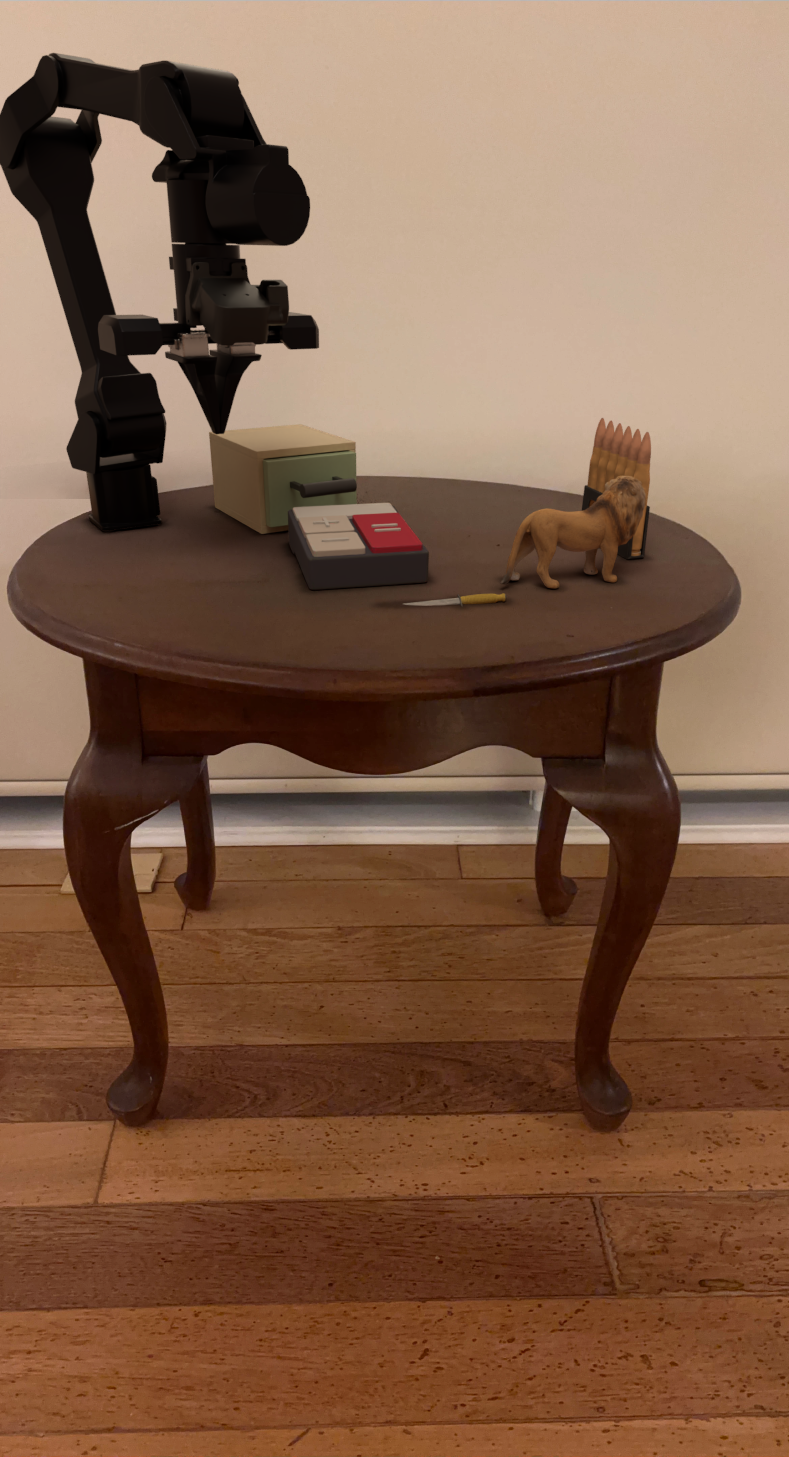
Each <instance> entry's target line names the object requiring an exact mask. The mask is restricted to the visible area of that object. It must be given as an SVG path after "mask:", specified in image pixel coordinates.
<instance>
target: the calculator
mask: <svg viewBox="0 0 789 1457" xmlns="http://www.w3.org/2000/svg"><path fill="white" fill-rule="evenodd" d="M410 526H411V525H409V524H408V523H407V521H406V520H405V518H404V517H403V516H402V515H401V513H400V512H399V511H398V509H396V507H395V506H394V505H393V504H391V503H390V502H375V503H374V502H373V503H357V504H350V505H329V506H309V507H294V508H293V510H289V511H288V530H287V531H288V544H289V547H290V550H291V552H292V554H293V556H295V557H296V560H297V563H298V564H299V568H300V570H301V573H302V574H303V577H304V580H305V583H306V584H307V587H308V589H309V590H312V591H320V590H337V589H351V588H352V589H353V588H364V587H365V588H367V587H380V586H395V585H411V584H424V583H428V581H429V565H430V564H429V563H430V562H429V561H430V560H429V559H430V551H429V550H428V548H427V547H426V545H424V543H423V542H422V541H421V539H420V538H419V537H418V535H417V534H416V533H415V532H414V531H413V529H412V528H411V527H410Z"/></svg>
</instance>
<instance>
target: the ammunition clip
mask: <svg viewBox="0 0 789 1457" xmlns="http://www.w3.org/2000/svg"><path fill="white" fill-rule="evenodd" d="M614 426H615V425H614V422H613V420H609V422H608V423H607V425H606V422H605V418H604V417H601V418H600V420H599V422H598V424H597V426H596V430H595V434H594V439H593V446H592V452H591V457H590V460H589V467H588V475H587V484H586V485H584V486H583V494H582V502H581V503H582V504H581V511H584V510H585V509H587V508H589V507H591V506H592V505H593V503H594V502H596V501H597V498H598V497H599V496H601V495H602V494H603V493H604V492H605V484H606V483H607V482H610V481H611V480H612V479H616V478H617V477H618V476H632V477H634V478H636V479H638V480H639V481H640V482H641V483H642V486H643V488H644V490H645V495H646V505H645V507H644V510H643V516H642V518H641V520H640V522H639V525H638V527H637V530H636V533H635V535H634V536H633V537H632V538H631V539H630V540H629V541H628V542H627V543H626V544H623V545H620V546H618V552H617V556H620V557H622V558H623V559H626V560H635V559H644V558H645V552H646V544H647V537H648V536H647V535H648V528H649V527H648V526H649V518H650V510H651V506H649V505H648V499H649V491H650V484H651V473H650V472H651V457H652V441H651V436H650V433H649V431H646V432H645V433H644V435H643V437H642V434H641V431H640V428H637V429H635V431H634V433H632V429H631V428H632V427H631V426H630V425H628V426H626V428H625V429H623V426H622V423H618V424H617V426H616V428H615V427H614Z"/></svg>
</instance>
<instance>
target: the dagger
mask: <svg viewBox="0 0 789 1457" xmlns="http://www.w3.org/2000/svg"><path fill="white" fill-rule="evenodd" d="M456 596H457V597H453V598H452V597H451V598H443V599H433V600H423V601H415V602H406V603H405V602H404V603H403V605H406V606H423V607H424V606H427V607H429V606H459V605H460V607H461V608H463V607H464V606H463V605H481V604H482V605H483V604H495V603H497V602H506V601H507V597H508V596H507V594H506V593H503V592H502V593H501V594H498V593H479V594H478V593H477V594H470V595H463V596H461V595H460V594H459V593H458V594H456Z"/></svg>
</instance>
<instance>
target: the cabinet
mask: <svg viewBox="0 0 789 1457" xmlns="http://www.w3.org/2000/svg"><path fill="white" fill-rule="evenodd" d="M208 437H209V450H210V463H211V474H212V485H213V486H212V487H213V498H214V499H213V500H214V508H216V509H217V510H219V511H221V512H222V513H224V514H226V515H228V516H229V517H231V518H233V519H234V520H235V521H238V522H240V523H242V524H243V525H245V526H247V527H248V528H250V529H252V530H253V531H256V532H257V533H258V534H261V535H264V534H272V533H279V532H286V531H288V525H286V526H279V527H269V526H267V525H266V508H265V491H264V473H263V460H264V459H266V458H276V457H286V456H295V455H305V454H315V453H325V452H335V451H339V452H346V451H352V452H355V453H356V454H357V450H356V448H357V445H356V443H357V442H356V441H354V440H352V439H351V440H350V439H349V438H344V437H342V436H338V435H335V434H332V433H330V432H326V431H323V430H321V429H318V428H314V427H311V426H308V425H304V424H301V423H298V424H286V425H285V424H284V425H275V426H274V425H273V426H264V427H263V426H262V427H261V426H260V427H252V428H239V429H227V430H226V429H225V433H224V434H214V433H213V432H212V431H208Z"/></svg>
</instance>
